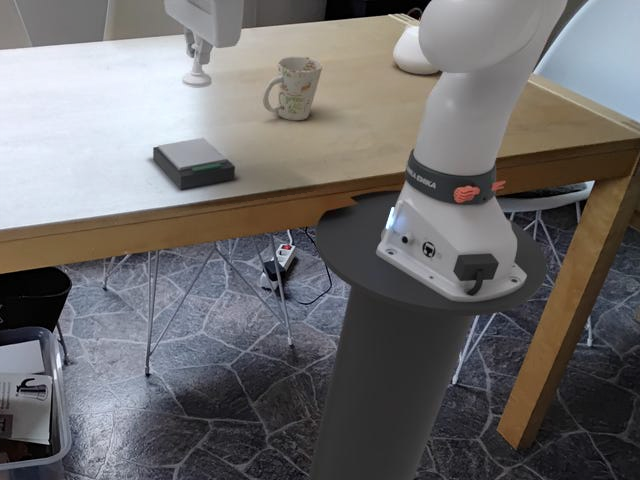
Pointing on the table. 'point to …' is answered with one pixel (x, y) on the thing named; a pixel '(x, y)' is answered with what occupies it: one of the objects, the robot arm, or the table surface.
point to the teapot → (411, 53)
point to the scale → (193, 163)
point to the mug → (294, 87)
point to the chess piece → (196, 71)
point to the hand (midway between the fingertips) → (197, 59)
